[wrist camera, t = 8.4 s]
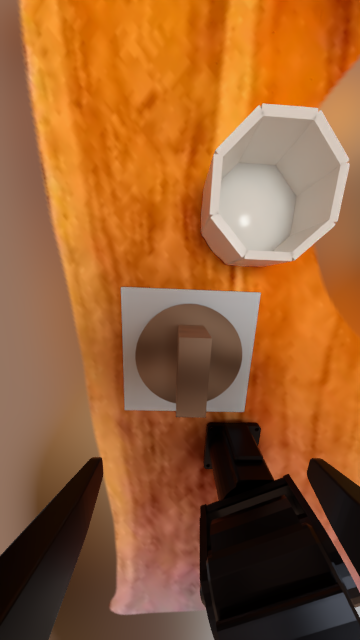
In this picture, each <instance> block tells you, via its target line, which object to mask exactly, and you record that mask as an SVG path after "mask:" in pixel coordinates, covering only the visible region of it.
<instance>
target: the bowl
mask: <svg viewBox="0 0 360 640" xmlns="http://www.w3.org/2000/svg"><path fill="white" fill-rule="evenodd" d="M317 112H318V108H311V107H299V106H287V105H274V104H262V105H261V107H260V106H258V107H257V108H256V109H255V110H254V111H253V112H252V113H251V114H250V115H249V116H248V117H247V118H246V119H245V120H244V121H243V122H242V123H241V124H240V125H239V126H238V127H237V128H236V129H235V130H234V131H233V132H232V134H231V135H230V136H229V137H228V138H227V139H226V140H225V141H224V142H223V143H222V144H221V145H220V146H219V147H218V148H217V149H216V150H215V153H214V155H213V158H212V162H211V165H210V168H209V172H208V175H207V178H206V182H205V185H204V189H203V203H202V209H201V232H203V233H202V234H201V235H202V236H203V237H204V238H205V240H206V242H207V244H208V246H209V247H210V249H211V250H212V251H213V252H214V254H215V255H216V256H218V257H219V258H220V259H222V261H223V262H224V263H225V264H226V263H227V265H236V266H261V267H264V266H269V265H274V264H280V263H285V262H290V261H293V260H296V259H297V258H298V257H299V256H300V255H301V254H302V253H304V252H305V251H306V250H307V249H308V248H309V247H311V246H312V245H313V244H314V243H315V242H316V241H318V240H319V239H320V238H321V237H322V236H323V235H324V234H326V233H327V232H328V231H329V230H330V229H331V228H333V227H334V226H335V222H337V221H338V217H339V212H340V207H341V203H342V198H343V193H344V189H345V184H346V179H347V175H348V170H349V166H350V163H346V162H348V161H349V158H348V156H347V154H346V153H345V151H344V149H343V147H342V146H341V144H340V142H339V141H338V139H337V137H336V135H335V134H334V132H333V130H332V128H331V127H330V125H329V123H328V121H327V120H326V118H325V116H324V114H323V113H322V111H321V110H320V111H319V112H318V113H317Z"/></svg>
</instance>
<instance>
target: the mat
mask: <svg viewBox="0 0 360 640" xmlns="http://www.w3.org/2000/svg"><path fill="white" fill-rule="evenodd" d="M260 294H261V293H259V292H235V291H211V290H187V289H162V288H138V287H121V306H122V339H123V371H124V403H125V410H148V411H176V404H175V403H172V402H168V401H166V400H164V399H162V398H160V397H158V396H157V395H155V394H154V393H153V392H151V391H150V390H149V389H148V387H147V386H146V385H145V384H144V382H143V381H142V379H141V377H140V375H139V373H138V370H137V366H136V360H135V352H136V346H137V342H138V339H139V336H140V335H141V333H142V331H143V329H144V328H145V326H146V325H147V324H148V322H149V321H150V320H151V319H152V318H153V317H154V316H156V315H157V314H158V313H160V312H161V311H163V310H165V309H167V308H169V307H172V306H175V305H180V304H199V305H203V306H206V307H209V308H211V309H213V310H215V311H217V312H219V313H220V314H221V315H223V316H224V317H225V318H226V319H227V320H228V321H229V322H230V323H231V324H232V325H233V326H234V328H235V329H236V331H237V333H238V335H239V338H240V341H241V345H242V362H241V367H240V370H239V372H238V374H237V377H236V378H235V380H234V381H233V383H232V384H231V385H230V386H229V388H228V389H226V390H225V391H224V392H223V393H222V394H220V395H219V396H217V397H216V398H214V399H212V400H209V401H207V407H206V411H210V412H244V409H245V402H246V395H247V387H248V380H249V373H250V366H251V359H252V352H253V344H254V337H255V330H256V323H257V316H258V309H259V301H260Z"/></svg>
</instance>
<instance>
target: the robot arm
mask: <svg viewBox="0 0 360 640" xmlns="http://www.w3.org/2000/svg"><path fill="white" fill-rule="evenodd" d="M210 427H212V428H210ZM255 428H256V429H255ZM260 432H261V428H260V426H259V425H258V424H256V423H209V424H208V425H207V429H206V440H205V451H204V467H205V468H206V469H213V474H214V479H215V484H216V489H217V494H218V499H219V501H217V502H214V503H211V504H209V505H206V504H205V505H202V506H201V507H200V510H201V518H200V596H201V601H202V603H203V604H204V606H205V607H206V610H207V615H208V619H209V623H210V627H211V630H212V634H213V637H214V639H215V640H360V617H359V615H358V614H357V611H356V610H355V608H354V607H358V606H360V593H359V590H358V588H357V586H356V584H355V582H354V581H353V579H352V577H351V575H350V573H349V571H348V569H347V567H346V565H345V564H344V562H343V560H342V558H341V556H340V555H339V553H338V551H337V549H336V548H335V546H334V544H333V543H332V541H331V539H330V537H329V536H328V534H327V532H326V531H325V529H324V528H323V526H322V524H321V523H320V521H319V520H318V518H317V517H316V515H315V514H314V512H313V511H312V509H311V507H310V506H309V504H308V503H307V501H306V500H305V498H304V497H303V495H302V494H301V492H300V491H299V489H298V488H297V486H296V485H295V483H294V482H293V480H292V478H291V477H290V475H289V474H287V475H284V476H283V478H280V479H277V480H275V481H274V479H273V477H272V475H271V473H270V471H269V469H268V467H267V465H266V463H265V461H264V459H263V456H262V454H261V452H260V450H259V448H258V444H259V438H260ZM307 476H308V479H309V482H310V484H311V486H312V488H313V490H314V492H315V494H316V496H317V498H318V500H319V502H320V504H321V506H322V508H323V510H324V512H325V514H326V516H327V518H328V520H329V522H330V524H331V526H332V528H333V530H334V532H335V534H336V536H337V537H338V539H339V541H340V543H341V545H342V546H343V548H344V550H345V552H346V553H347V555H348V557H349V559H350V560H351V562H352V564H353V566H354V567H355V569H356V571H357V573H358V574H359V576H360V487H359V486H358V485H357V484H355V483H354V482H353V481H351V480H350V479H349V478H347V477H346V476H344V475H343V474H342V473H340V472H339V471H338V470H336V469H335V468H334V467H332V466H331V465H330V464H328V463H327V462H326V461H324V460H323V459H320V458H312V459H310V462H309V466H308V470H307ZM102 478H103V462H102V458H101V457H93V458H91V459H90V460H89V461H88V462H87V463H86V464H85V465H84V466H83V467H82V468H81V470H79V472H78V473H77V474H76V475H75V476H74V477H73V478H72V479H71V480H70V481H69V482H68V483H67V484H66V486H65V487H64V488H63V489H62V490H61V491H60V492H59V493H58V494H57V496H55V497H54V498H53V500H52V501H51V502H50V503H49V504H48V505H47V506H46V507H45V508H44V509H43V510H42V511H41V512H40V514H39V515H38V516H37V517H36V518H35V519H34V520H33V521H32V522H31V523H30V524H29V525H28V526H27V528H26V529H25V530H24V531H23V532H22V533H21V534H20V535H19V536H18V537H17V538H16V539H15V540H14V541H13V543H12V544H11V545H10V546H9V547H8V548H7V549H6V550H5V551H4V552H3V554H1V556H0V640H48V639H49V637H50V634H51V631H52V628H53V626H54V623H55V620H56V617H57V615H58V612H59V609H60V606H61V603H62V601H63V598H64V595H65V593H66V590H67V587H68V584H69V581H70V579H71V576H72V573H73V571H74V568H75V565H76V562H77V560H78V557H79V554H80V551H81V549H82V546H83V543H84V540H85V537H86V534H87V531H88V528H89V524H90V521H91V517H92V514H93V510H94V507H95V503H96V500H97V496H98V493H99V489H100V485H101V482H102Z"/></svg>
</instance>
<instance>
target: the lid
mask: <svg viewBox="0 0 360 640" xmlns="http://www.w3.org/2000/svg"><path fill="white" fill-rule="evenodd" d="M135 360H136V366H137V370H138V373H139V375H140V377H141V379H142V381H143V382H144V384H145V385H146V386H147V387H148V389H149V390H150V391H151V392H153V393H154V394H155V395H157V396H158V397H160V398H162V399H164V400H166V401H168V402H172V403H175V404H176V417H206V407H207V401H209V400H212V399H214V398H216V397H217V396H219V395H220V394H222V393H223V392H224V391H225V390H226V389H228V388H229V386H230V385H231V384H232V383H233V381H234V380H235V378H236V377H237V374H238V372H239V370H240V367H241V362H242V345H241V341H240V338H239V335H238V333H237V331H236V329H235V328H234V326H233V325H232V324H231V323H230V322H229V321H228V320H227V319H226V318H225V317H224V316H223V315H221V314H220V313H219V312H217V311H215V310H213V309H211V308H209V307H206V306H203V305H199V304H180V305H175V306H172V307H169V308H167V309H165V310H163V311H161V312H160V313H158V314H157V315H156V316H154V317H153V318H152V319H151V320H150V321H149V322H148V324H147V325H146V326H145V328H144V329H143V331H142V333H141V335H140V336H139V339H138V342H137V346H136V352H135Z"/></svg>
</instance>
